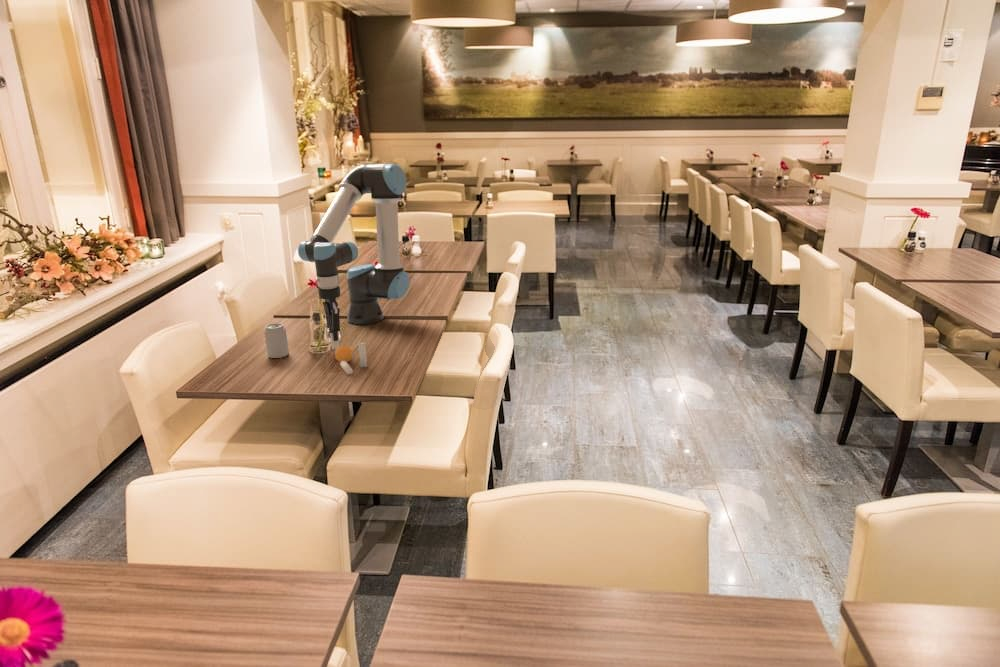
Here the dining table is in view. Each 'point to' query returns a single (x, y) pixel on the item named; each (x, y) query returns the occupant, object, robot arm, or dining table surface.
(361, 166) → the robot arm
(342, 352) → the ball
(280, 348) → the can
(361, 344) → the pin
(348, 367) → the pin
